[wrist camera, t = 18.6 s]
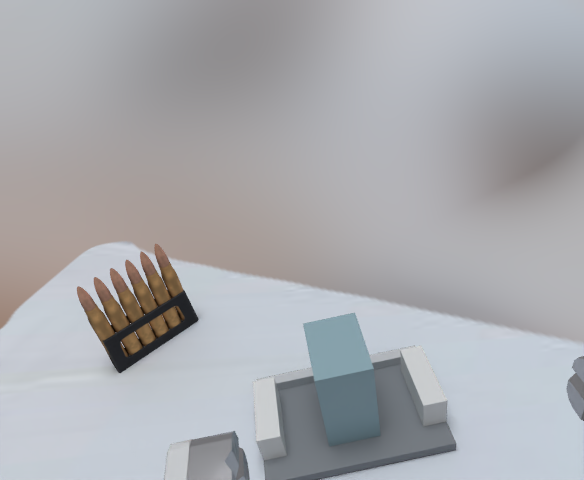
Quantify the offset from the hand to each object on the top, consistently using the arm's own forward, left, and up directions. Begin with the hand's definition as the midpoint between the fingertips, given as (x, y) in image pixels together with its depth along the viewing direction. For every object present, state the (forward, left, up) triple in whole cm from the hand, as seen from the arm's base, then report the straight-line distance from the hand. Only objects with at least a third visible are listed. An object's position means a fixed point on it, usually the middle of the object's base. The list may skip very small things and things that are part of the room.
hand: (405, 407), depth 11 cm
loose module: (0, +18, -27) cm, 33 cm away
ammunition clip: (-20, +33, -28) cm, 48 cm away
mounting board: (0, +18, -28) cm, 33 cm away
